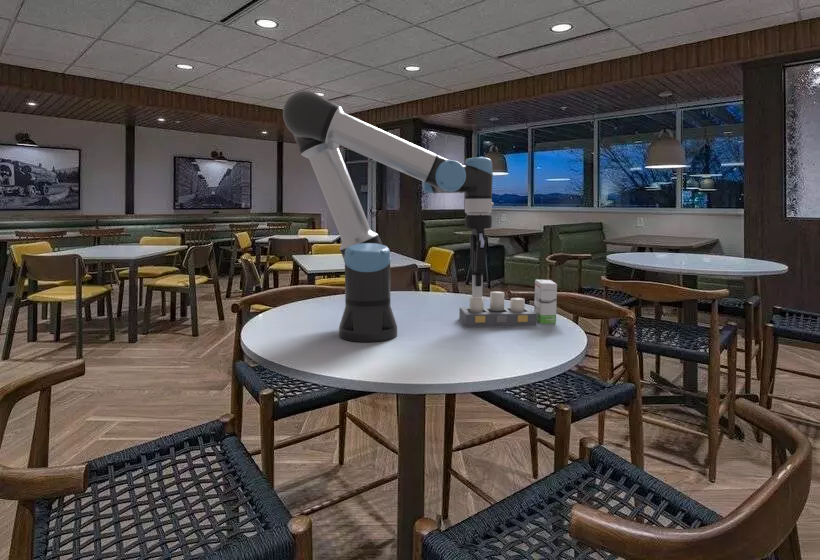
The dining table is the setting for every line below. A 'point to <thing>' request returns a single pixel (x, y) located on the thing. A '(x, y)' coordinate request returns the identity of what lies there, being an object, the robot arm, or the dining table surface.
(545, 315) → the ink box
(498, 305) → the button mid
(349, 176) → the robot arm
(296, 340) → the dining table surface
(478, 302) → the button left
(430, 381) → the dining table surface
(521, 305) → the button right
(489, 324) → the console
